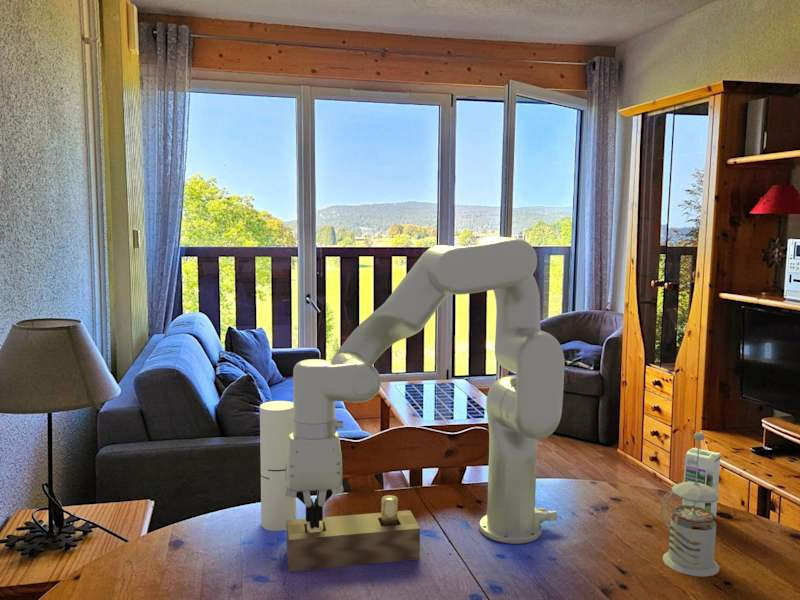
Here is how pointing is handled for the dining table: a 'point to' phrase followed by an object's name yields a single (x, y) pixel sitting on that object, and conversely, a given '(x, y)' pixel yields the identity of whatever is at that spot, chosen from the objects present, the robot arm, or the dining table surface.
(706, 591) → the dining table surface
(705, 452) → the syrup box
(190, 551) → the dining table surface
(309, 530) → the outer brass pin
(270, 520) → the cylindrical container
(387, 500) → the inner brass pin
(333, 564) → the tan peg holder block
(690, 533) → the french press
